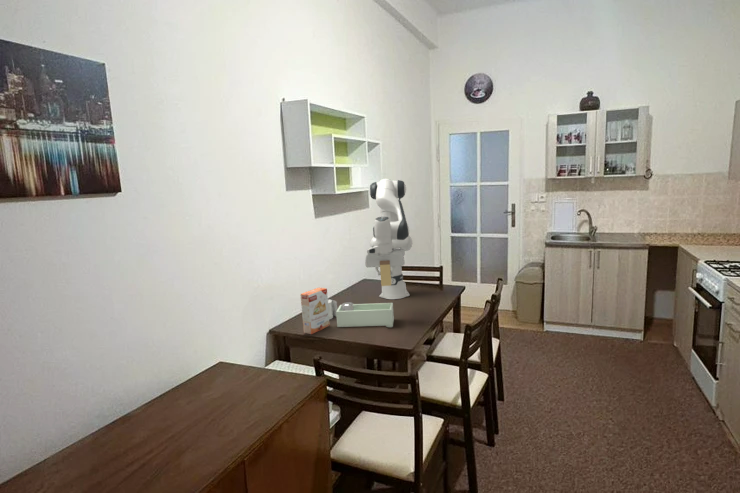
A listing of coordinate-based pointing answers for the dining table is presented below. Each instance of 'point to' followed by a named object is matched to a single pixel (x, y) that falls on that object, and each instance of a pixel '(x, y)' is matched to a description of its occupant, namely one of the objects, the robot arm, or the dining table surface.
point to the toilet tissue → (332, 308)
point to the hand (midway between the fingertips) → (385, 275)
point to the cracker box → (315, 310)
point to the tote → (366, 315)
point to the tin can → (347, 306)
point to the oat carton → (385, 273)
